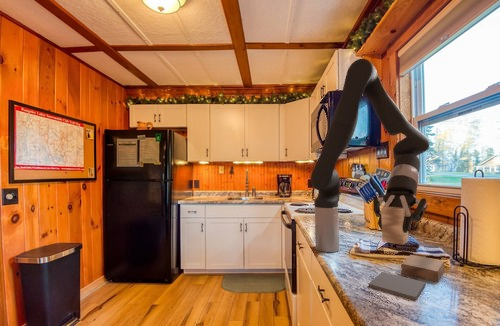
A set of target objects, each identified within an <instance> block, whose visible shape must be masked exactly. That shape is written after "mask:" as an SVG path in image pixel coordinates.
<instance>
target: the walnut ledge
mask: <svg viewBox="0 0 500 326" xmlns="http://www.w3.org/2000/svg"><path fill="white" fill-rule="evenodd" d="M400 266H401V274H402V275H407V276H410V277H416V278H418V279H423V280H427V281H432V282H436V283H439V282H440V280H441V278H442V276H443V274H444V272H445V261H444V260H441V259H440V260H439V259H435V258H430V257H425V256H424V257H423V256H419V255H414V254H410V255H408V256H407V258H405V259H404V260H403V262H401V265H400Z"/></svg>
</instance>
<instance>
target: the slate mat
mask: <svg viewBox="0 0 500 326" xmlns="http://www.w3.org/2000/svg"><path fill="white" fill-rule="evenodd" d="M426 285H427V284H426V282H424V281H421V280H417V279H412V278H410V277H409V278H408V277H405V276H400V275H396V274H392V273H388V272H383V271H381V272H380V273H379V274H378V275H377V276H375V278H373V279H372V280H371V281H370V282H369V283H368V288H372V289H375V290H379V291H382V292H386V293H389V294H393V295H394V296H395V295H396V296H399V297H403V298H407V299H410V300H413V301H417V300H418V298H419V297H420V295H421V293H422V292H423V290H424V289H425V287H426Z"/></svg>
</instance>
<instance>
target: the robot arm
mask: <svg viewBox="0 0 500 326" xmlns="http://www.w3.org/2000/svg"><path fill="white" fill-rule="evenodd" d="M382 83H383V82H382V81H381V79H380V77H379V75H378V71H377V68H376V67H375V66H374V65H373V62H371V61H370V60H368V59H366V58H358V59H356V60H354V61H353V62H352V63H351V64H350V65H349V66H348V69H347V72H346V75H345V78H344V83H343V87H342V91H341V95H340V99H339V100H338V102H337V106H336V109H335V111H334V115H333V117H332V120H331V123H330V125H329V128H328V132H327V134H326V138H325V140H324V143H323V146H322V149H321V151H320V153H319V154H320V155H319V156H318V159H317V160H316V163H315V165H314V167H313V170H312V171H311V175H310V184H311V186H312V188H314V190H317V191H318V194H317V197H316V198H315V200H314V228H315V230H314V231H315V232H314V233H315V234H314V235H315V236H314V237H315V238H314V239H315V251H319V252H324V253H336V252H339V251H340V230H339V229H340V228H339V227H340V225H339V221H340V220H339V201H340V198H341V197H340V196H341V195H340V194H341V191H340V190H341V189H340V188H341V187H340V186H341V184H340V181H341V180H340V175H339V173H338V172H337V170H336V169H335V167H336V165H337V162H338V160H339V158H340V157H341V155H342V154H343V152H344V151H345V150H346V148H347V147H348V146H349V144H350V143H351V141H352V139H353V136H354V133H355V131H356V128H357V126H358V125H357V124H358V121H359V113H360V111H359V110H360V104H361V103H360V102H361V99H362V97H363V94H364V96H366V99H368V101H369V102H370V105H371V106H372V109H373V110H374V112H375V114H376V116H377V118H378V120H379V122H380V123H381V125H382V126H383V128H384V129H385V131H386V132H387V134H388V135H390V136H398V135H399V134H402V135H403V136H405V138H402V139H401V140H399V141H398V142H396V143H395V144H394V147H393V149H392V153H393V154H392V155H393V158H394V163H393V168H392V171H391V173H390V176H389V180H388V184H387V186H386V192H385V194H384V195H383V196H382V197H378V196H376V195H375V196H373V197H372V202H373V205H372V206H373V212H374V214H375V216H376V217H377V218H378V221H377V225H378V228H380V230H381V231H382V220H381V206H382V204H383V203H384V204H383V207H382V208H384V207H402V208H406V211H405V215H406V217H404V222H403V227H402V228H403V231H404V233H407V231H408V232H410V231H411V228H412V222H413V221H418V222H419V221H421V220H422V218H423V216H424V214H425V212H426V211H427V208H428V206H429V205H428V202H427V199H426V198H424V197H423V198H420V199H419V198H417V197H416V196H417V191H418V186H419V178H420V177H419V173H420V168H421V161H420V157H418V156H419V155H421V154H423V153H425V152H427V151H428V150H429V149H430V140H429V139H428V137H427V136H426V135H425V134H424V133H423V132H421V131H420V130H419V129H417V128H416V127H415V126H414V125H413V124H412V123H411V122H409V121H408V119H407V118H406V116H405V115H404V114H403V111H402V110H401V109H400V108H399V107H398V105H397V104H396V103H395V102H394V100H393V99H392V97H391V96H390V95H389V94H388V92H387V90H386V89H385V87H384V86H383V84H382ZM415 205H416V208H415V209H414V211H413V213H412V212H411V211H410V209H411V208H413V206H415Z"/></svg>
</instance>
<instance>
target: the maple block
mask: <svg viewBox="0 0 500 326" xmlns="http://www.w3.org/2000/svg"><path fill="white" fill-rule="evenodd" d="M380 211H381V220H382V230H381V234H382V235H381V236H382V242H383V243H389V244H395V245H402V246H404V245H405V244H407V242H409V231H407V233H404V231H403V228H402V227H403V222H404V217H406V215H405V211H406V208H402V207H384V208H383V207H380Z"/></svg>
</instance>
